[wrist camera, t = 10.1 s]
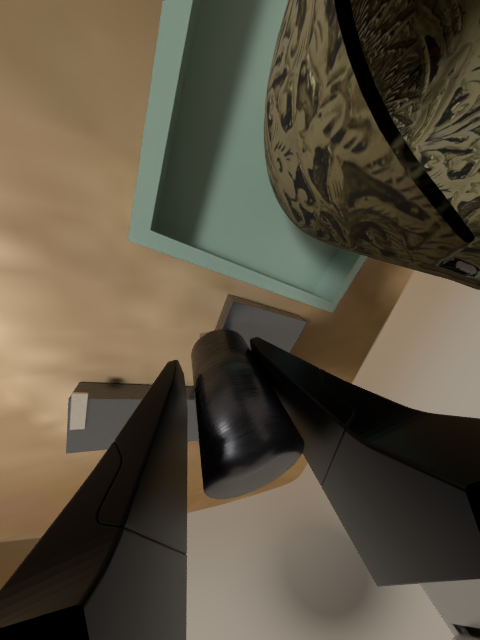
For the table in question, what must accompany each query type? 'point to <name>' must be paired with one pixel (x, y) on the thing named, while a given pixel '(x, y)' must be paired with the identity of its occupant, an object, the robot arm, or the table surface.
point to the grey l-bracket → (122, 399)
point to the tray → (224, 157)
